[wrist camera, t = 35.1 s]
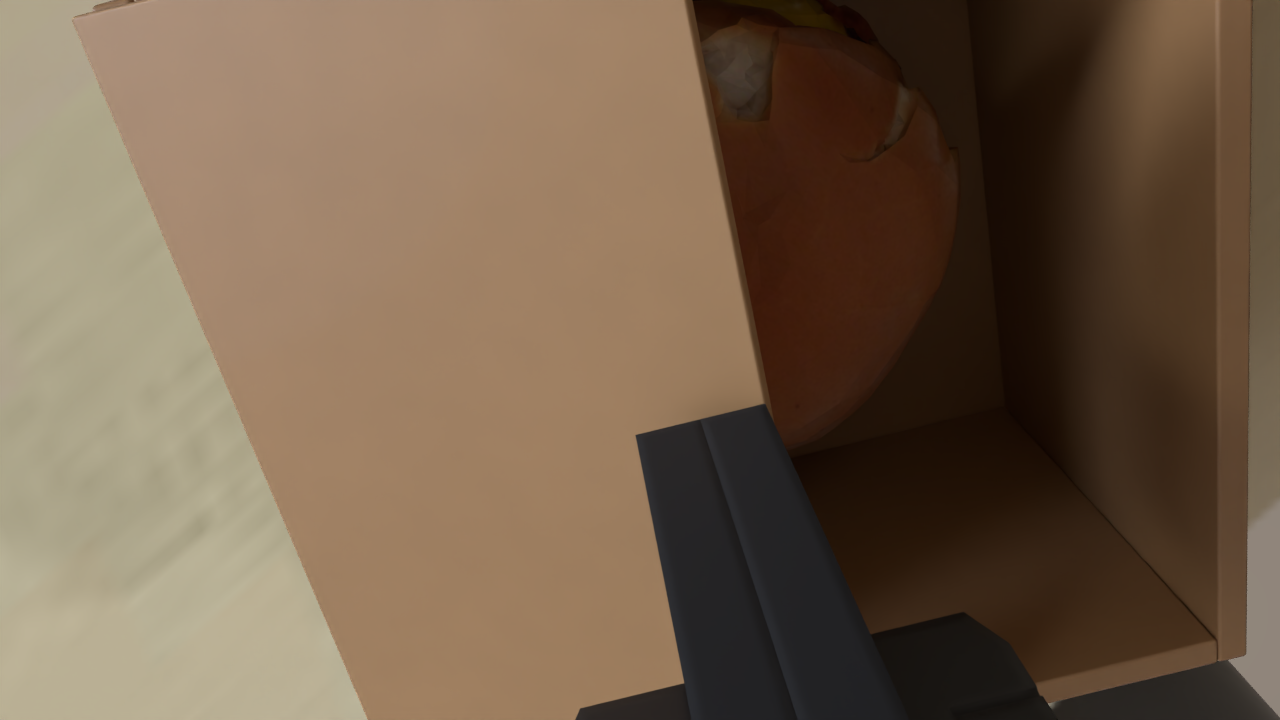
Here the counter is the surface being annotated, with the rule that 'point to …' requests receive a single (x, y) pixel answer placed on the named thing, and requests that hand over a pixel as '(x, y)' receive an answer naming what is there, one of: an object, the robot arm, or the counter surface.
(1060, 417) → the carton
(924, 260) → the burger
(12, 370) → the counter surface
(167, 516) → the counter surface
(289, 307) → the flap
